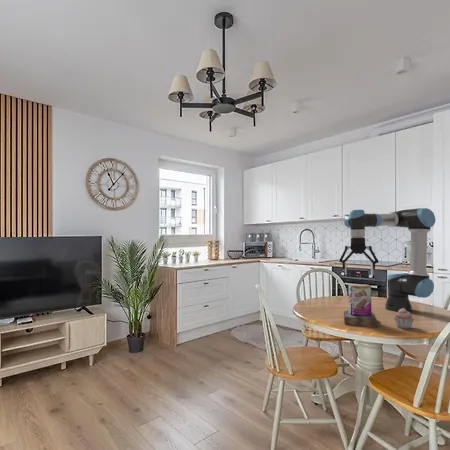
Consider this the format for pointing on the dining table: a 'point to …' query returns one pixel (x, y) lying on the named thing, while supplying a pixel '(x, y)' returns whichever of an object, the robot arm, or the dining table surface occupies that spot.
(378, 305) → the dining table surface
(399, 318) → the cupcake
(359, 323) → the podium
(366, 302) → the candy bar box
